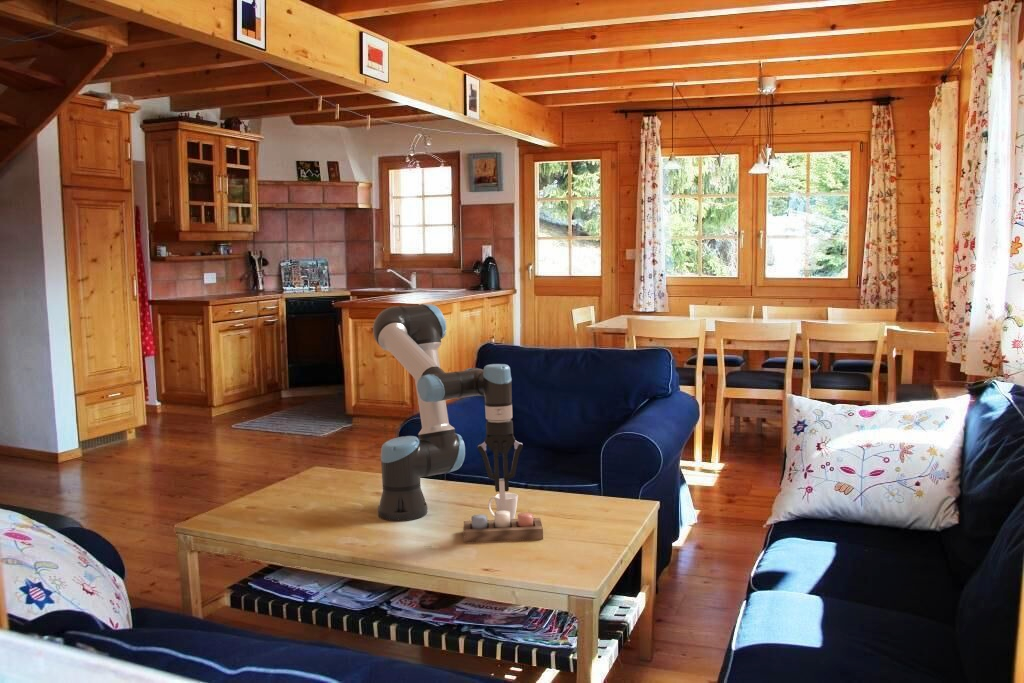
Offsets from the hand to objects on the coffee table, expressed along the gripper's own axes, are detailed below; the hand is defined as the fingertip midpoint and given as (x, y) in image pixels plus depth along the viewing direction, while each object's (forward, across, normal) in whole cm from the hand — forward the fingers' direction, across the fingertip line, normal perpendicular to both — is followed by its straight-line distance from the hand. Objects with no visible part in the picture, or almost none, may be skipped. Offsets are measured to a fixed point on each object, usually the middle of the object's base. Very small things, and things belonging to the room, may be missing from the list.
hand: (502, 502), depth 245 cm
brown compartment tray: (+10, 0, 0) cm, 10 cm away
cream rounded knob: (+7, 0, 0) cm, 7 cm away
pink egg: (+8, +6, 0) cm, 10 cm away
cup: (+10, 0, +13) cm, 16 cm away
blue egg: (+8, -7, 0) cm, 10 cm away
